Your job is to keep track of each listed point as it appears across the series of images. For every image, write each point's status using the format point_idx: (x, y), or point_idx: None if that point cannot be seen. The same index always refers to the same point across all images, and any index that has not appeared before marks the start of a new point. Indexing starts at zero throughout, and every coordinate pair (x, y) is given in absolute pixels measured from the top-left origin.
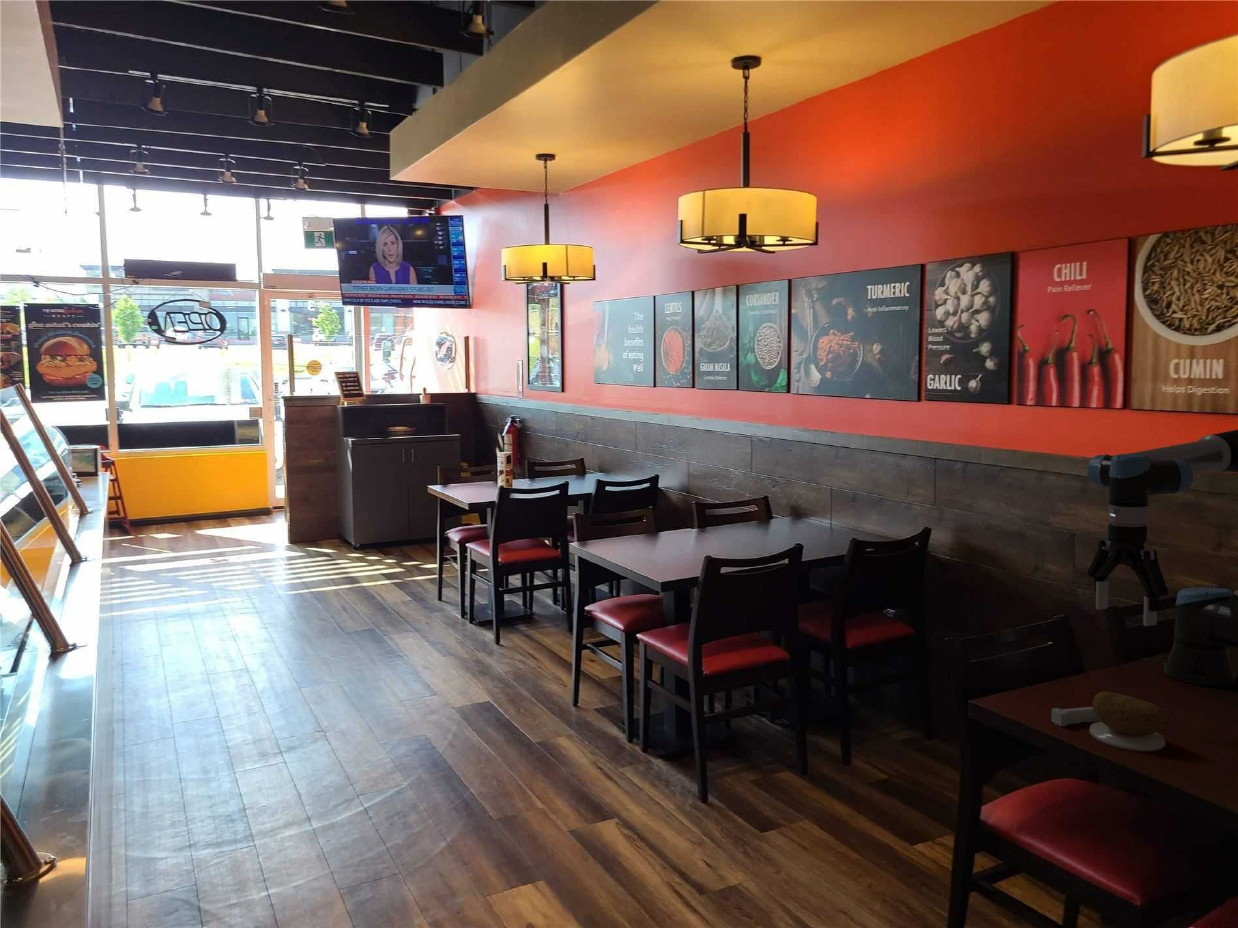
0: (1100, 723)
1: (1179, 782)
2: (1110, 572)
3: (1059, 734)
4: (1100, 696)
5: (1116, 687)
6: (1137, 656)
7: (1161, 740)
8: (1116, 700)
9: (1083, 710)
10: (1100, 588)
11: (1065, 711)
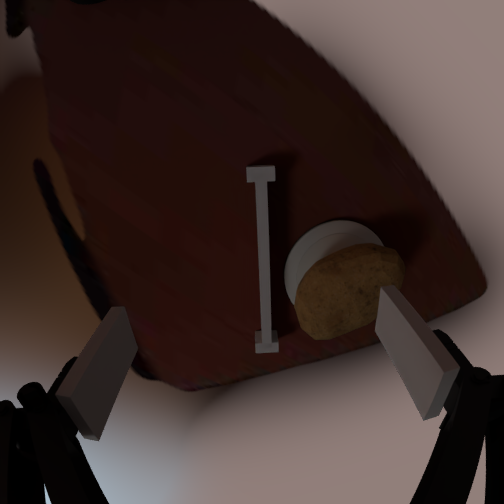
0: (291, 286)
1: (450, 298)
2: (73, 458)
3: (301, 354)
4: (326, 338)
5: (115, 123)
6: (15, 16)
7: (373, 239)
8: (353, 326)
9: (270, 310)
10: (104, 408)
11: (271, 341)
